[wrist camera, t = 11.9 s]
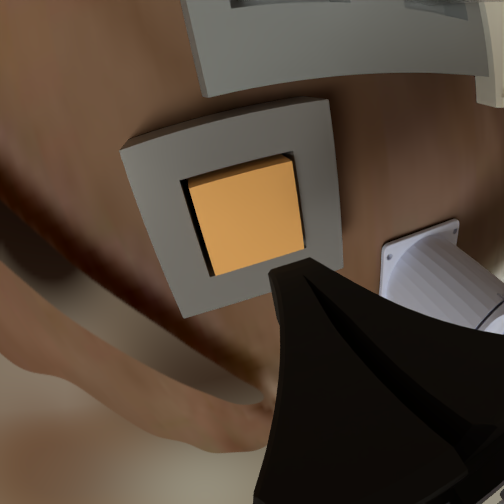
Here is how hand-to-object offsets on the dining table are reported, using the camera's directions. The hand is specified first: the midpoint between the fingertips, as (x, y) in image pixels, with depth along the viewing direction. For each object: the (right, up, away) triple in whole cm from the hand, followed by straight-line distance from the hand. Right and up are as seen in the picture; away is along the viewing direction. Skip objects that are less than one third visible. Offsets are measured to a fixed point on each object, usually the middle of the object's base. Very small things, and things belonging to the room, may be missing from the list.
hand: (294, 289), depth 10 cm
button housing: (-2, +4, +7) cm, 9 cm away
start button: (-2, +4, +7) cm, 8 cm away
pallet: (+4, +17, +2) cm, 17 cm away
